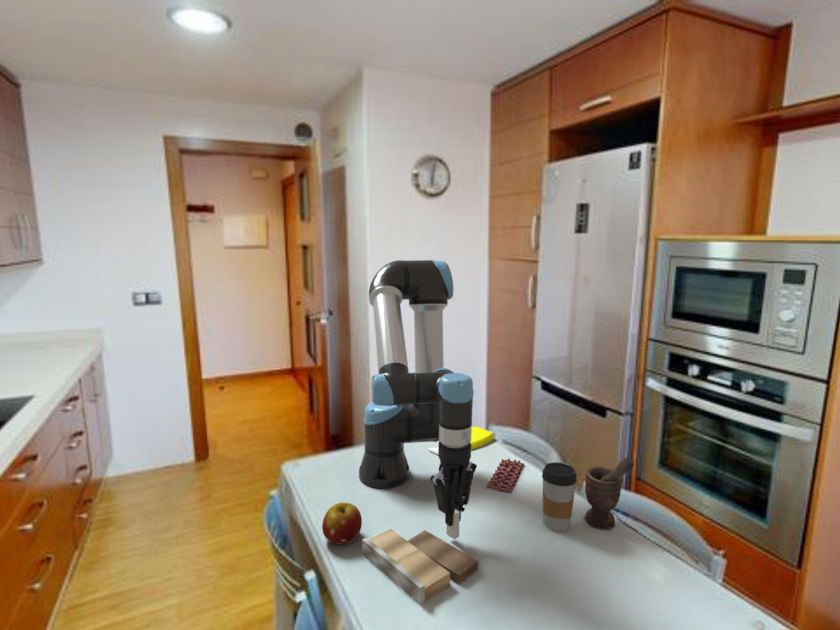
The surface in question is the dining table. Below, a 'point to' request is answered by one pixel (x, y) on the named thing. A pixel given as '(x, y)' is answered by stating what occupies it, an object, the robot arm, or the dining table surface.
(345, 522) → the fruit
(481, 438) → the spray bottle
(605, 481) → the mortar and pestle
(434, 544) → the walnut plank
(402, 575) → the plank row
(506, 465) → the chocolate bar
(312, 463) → the dining table surface
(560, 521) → the coffee cup
